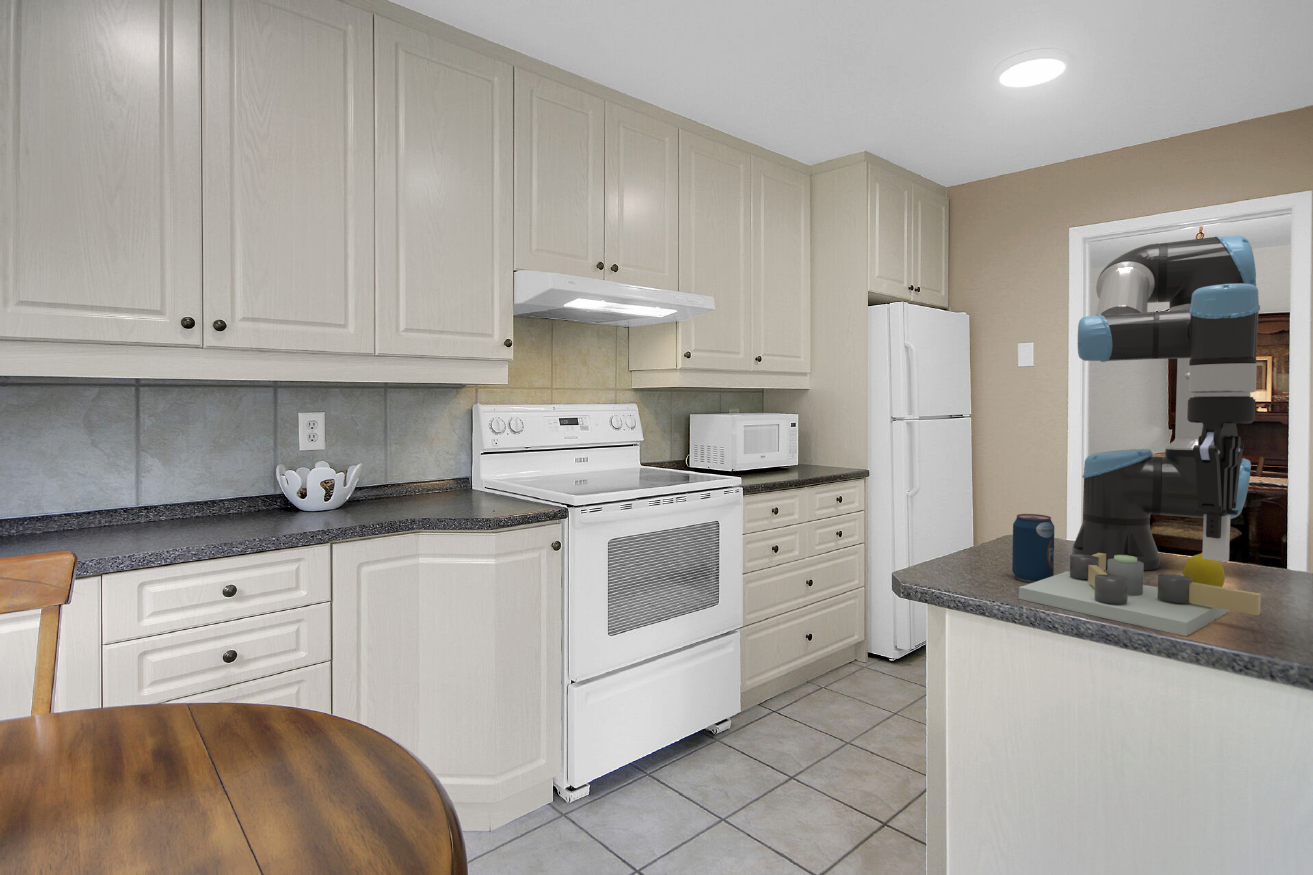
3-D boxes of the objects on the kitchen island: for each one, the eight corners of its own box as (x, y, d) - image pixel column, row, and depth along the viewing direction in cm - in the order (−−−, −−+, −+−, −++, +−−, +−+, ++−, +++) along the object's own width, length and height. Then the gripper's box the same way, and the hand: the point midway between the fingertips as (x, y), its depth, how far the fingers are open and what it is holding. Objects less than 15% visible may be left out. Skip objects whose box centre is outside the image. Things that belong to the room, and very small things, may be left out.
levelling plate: (1067, 581, 131) (1068, 540, 131) (1227, 612, 112) (1229, 564, 112) (1018, 598, 121) (1019, 553, 120) (1186, 636, 101) (1187, 582, 101)
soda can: (1059, 584, 130) (1061, 519, 129) (1019, 583, 131) (1020, 519, 130) (1044, 574, 137) (1046, 513, 136) (1006, 573, 138) (1007, 512, 137)
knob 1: (1091, 580, 123) (1092, 561, 123) (1065, 575, 127) (1065, 556, 127) (1115, 572, 129) (1115, 553, 129) (1089, 567, 132) (1089, 549, 132)
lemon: (1231, 604, 116) (1232, 556, 116) (1193, 602, 117) (1194, 555, 117) (1212, 595, 122) (1213, 549, 121) (1175, 593, 123) (1177, 548, 122)
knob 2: (1152, 598, 112) (1153, 576, 112) (1163, 593, 115) (1164, 572, 115) (1254, 618, 102) (1255, 594, 102) (1263, 612, 105) (1264, 589, 104)
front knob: (1131, 604, 109) (1132, 582, 109) (1098, 602, 111) (1099, 580, 110) (1106, 583, 121) (1107, 563, 121) (1077, 581, 123) (1078, 562, 122)
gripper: (1204, 395, 107) (1199, 549, 108) (1172, 395, 99) (1167, 561, 100) (1268, 395, 101) (1262, 558, 102) (1239, 394, 93) (1233, 570, 94)
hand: (1215, 559), depth 101 cm, fingers closed
